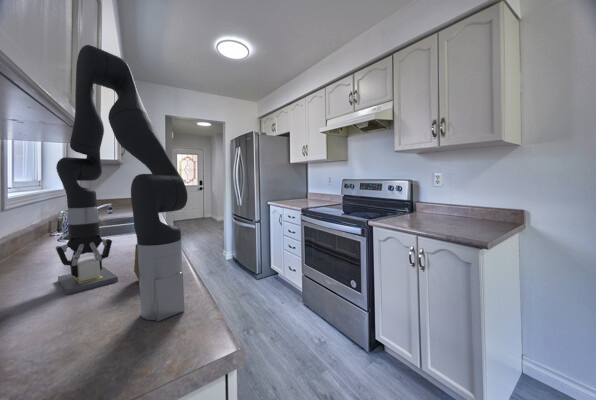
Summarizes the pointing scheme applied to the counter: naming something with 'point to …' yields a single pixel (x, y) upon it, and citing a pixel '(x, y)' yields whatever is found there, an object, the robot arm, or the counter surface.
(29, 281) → the counter surface
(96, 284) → the board
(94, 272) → the block
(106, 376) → the counter surface
